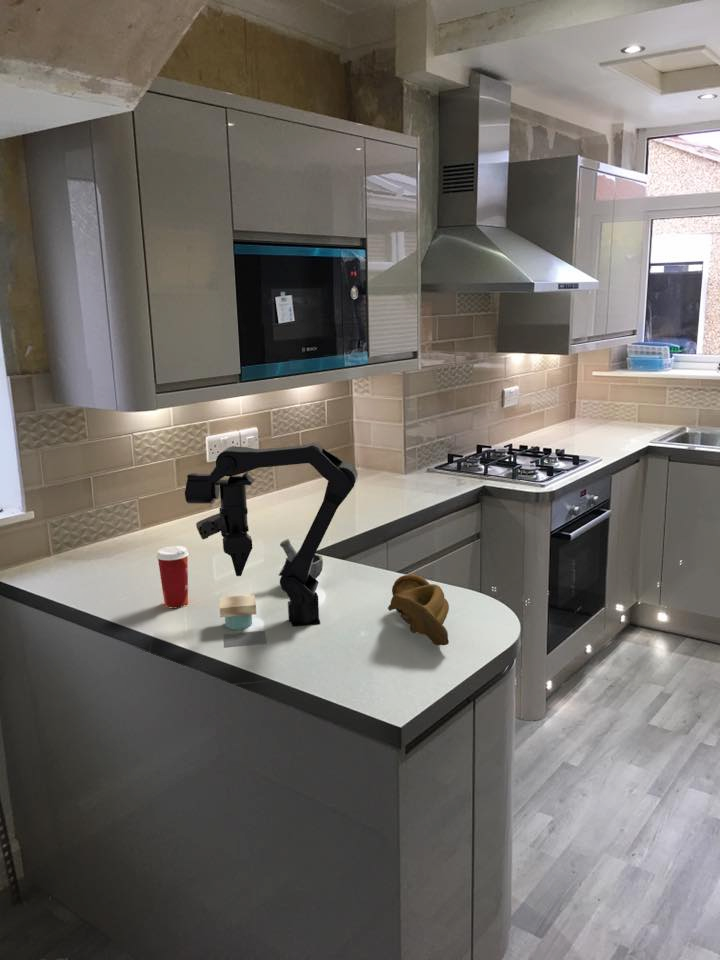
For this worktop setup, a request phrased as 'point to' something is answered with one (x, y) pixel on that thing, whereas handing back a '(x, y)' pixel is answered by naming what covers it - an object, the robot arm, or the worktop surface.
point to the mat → (244, 639)
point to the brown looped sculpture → (421, 607)
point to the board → (237, 606)
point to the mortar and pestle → (316, 563)
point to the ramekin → (238, 622)
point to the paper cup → (174, 575)
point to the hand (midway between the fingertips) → (237, 569)
